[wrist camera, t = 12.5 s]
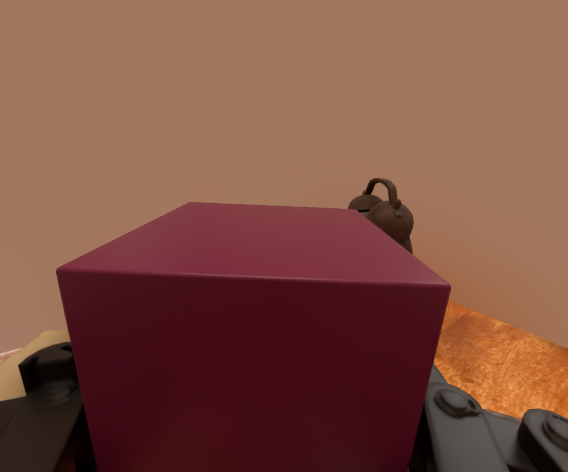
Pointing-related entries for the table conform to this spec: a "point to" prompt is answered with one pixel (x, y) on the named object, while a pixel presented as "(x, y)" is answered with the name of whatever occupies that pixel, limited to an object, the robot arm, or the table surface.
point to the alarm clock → (386, 213)
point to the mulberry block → (253, 342)
